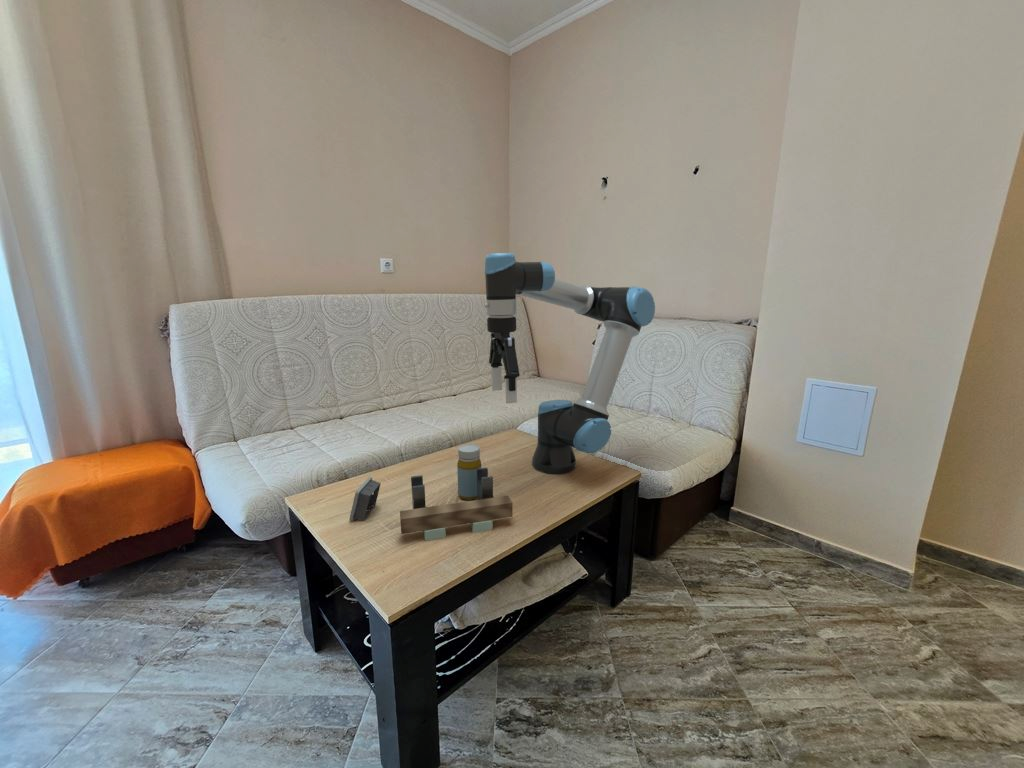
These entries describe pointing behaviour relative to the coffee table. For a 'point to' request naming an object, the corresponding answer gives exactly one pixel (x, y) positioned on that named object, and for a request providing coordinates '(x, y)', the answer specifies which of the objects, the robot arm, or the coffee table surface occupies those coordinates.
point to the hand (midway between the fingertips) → (503, 396)
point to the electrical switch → (365, 499)
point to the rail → (455, 514)
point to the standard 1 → (418, 492)
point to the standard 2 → (484, 484)
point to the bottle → (468, 471)
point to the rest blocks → (440, 534)
